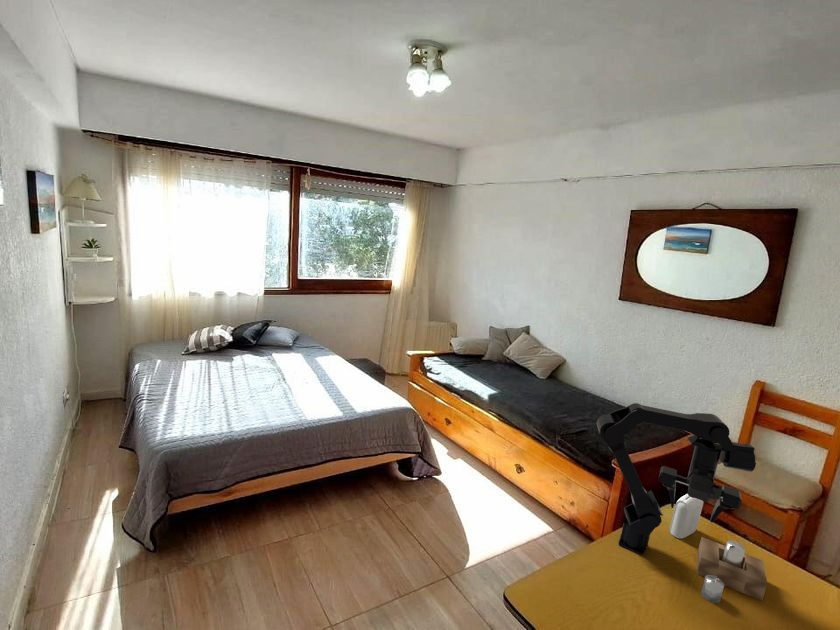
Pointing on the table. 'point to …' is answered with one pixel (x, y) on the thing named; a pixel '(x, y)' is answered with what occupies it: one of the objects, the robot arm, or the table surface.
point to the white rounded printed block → (686, 516)
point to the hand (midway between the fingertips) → (691, 514)
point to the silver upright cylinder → (733, 553)
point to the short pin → (712, 588)
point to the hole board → (732, 569)
